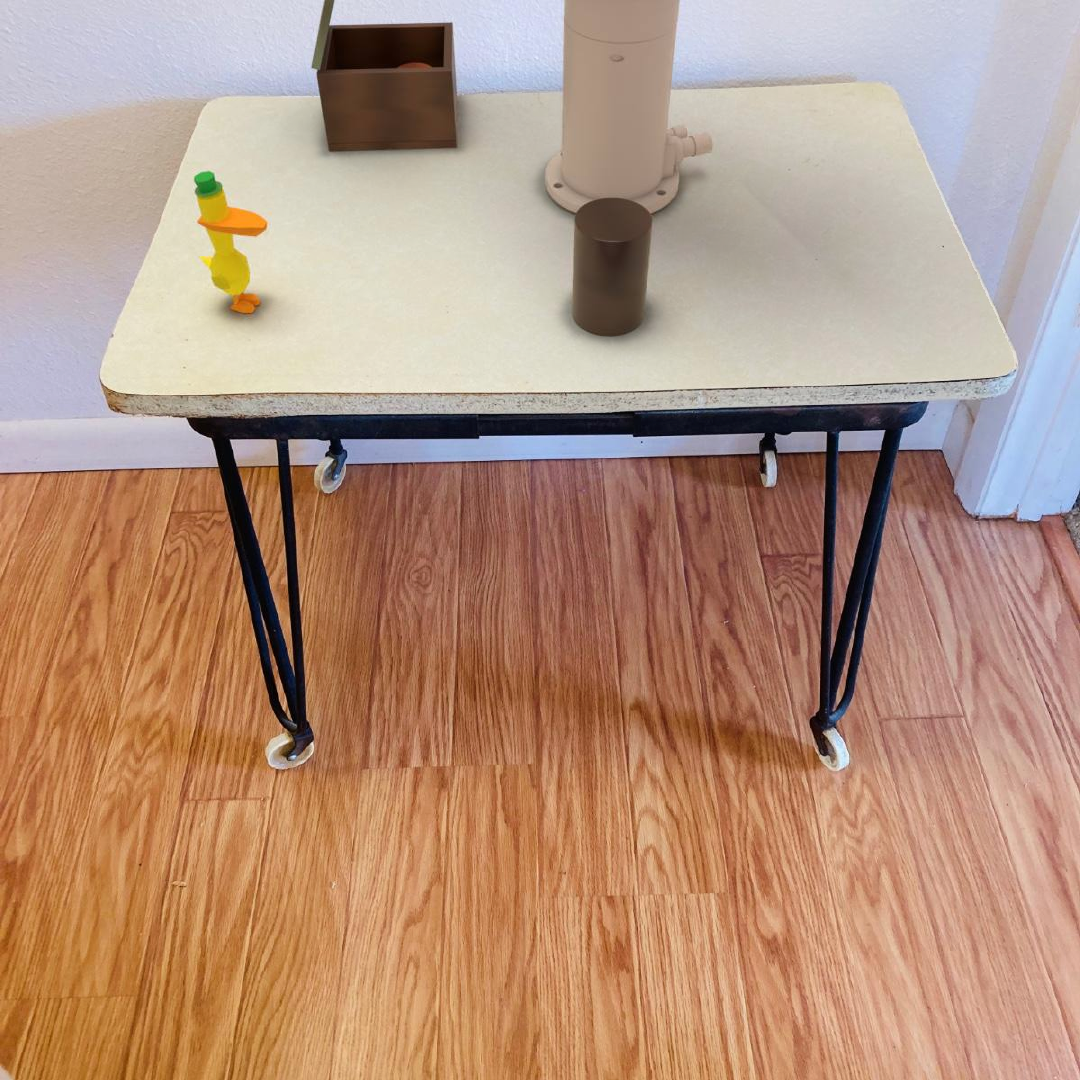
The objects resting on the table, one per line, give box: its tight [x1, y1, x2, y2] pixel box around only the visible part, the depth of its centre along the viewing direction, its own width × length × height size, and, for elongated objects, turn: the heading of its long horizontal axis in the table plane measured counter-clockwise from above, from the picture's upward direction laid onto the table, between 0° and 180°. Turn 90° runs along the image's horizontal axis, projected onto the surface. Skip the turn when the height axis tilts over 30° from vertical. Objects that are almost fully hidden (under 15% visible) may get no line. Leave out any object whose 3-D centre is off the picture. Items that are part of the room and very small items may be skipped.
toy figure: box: [193, 170, 268, 314], centre depth 86 cm, size 7×4×12 cm, turn 75°
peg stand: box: [571, 198, 653, 337], centre depth 87 cm, size 6×6×9 cm
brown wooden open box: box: [316, 22, 458, 152], centre depth 107 cm, size 13×10×8 cm
